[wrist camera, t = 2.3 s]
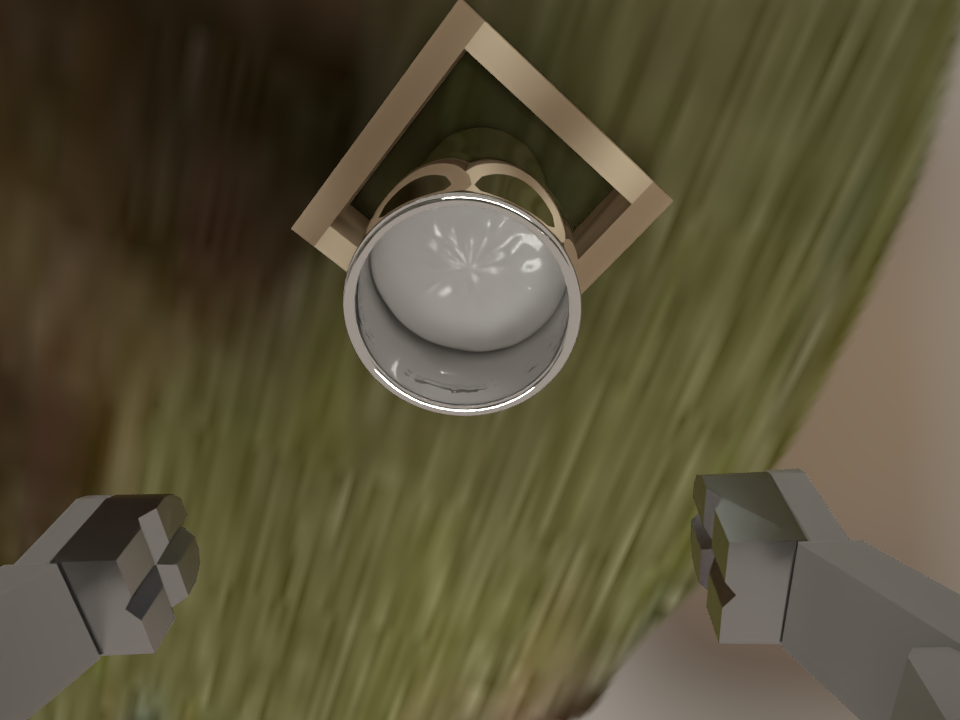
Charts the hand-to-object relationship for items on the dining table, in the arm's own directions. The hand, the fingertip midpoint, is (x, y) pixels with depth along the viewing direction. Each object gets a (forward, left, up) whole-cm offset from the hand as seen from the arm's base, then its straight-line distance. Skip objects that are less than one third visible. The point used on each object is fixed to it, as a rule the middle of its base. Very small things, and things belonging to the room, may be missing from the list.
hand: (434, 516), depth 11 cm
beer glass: (0, 0, -24) cm, 24 cm away
